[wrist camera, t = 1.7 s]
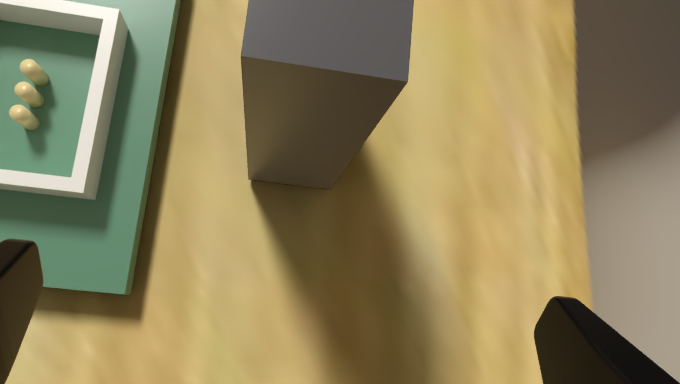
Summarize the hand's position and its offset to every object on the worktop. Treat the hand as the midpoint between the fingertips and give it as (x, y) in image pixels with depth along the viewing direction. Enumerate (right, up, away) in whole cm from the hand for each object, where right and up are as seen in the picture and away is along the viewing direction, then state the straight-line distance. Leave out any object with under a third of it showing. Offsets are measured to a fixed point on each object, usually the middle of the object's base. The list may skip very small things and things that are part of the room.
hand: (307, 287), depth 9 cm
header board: (-11, +5, +12) cm, 18 cm away
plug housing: (-1, +4, +14) cm, 15 cm away
